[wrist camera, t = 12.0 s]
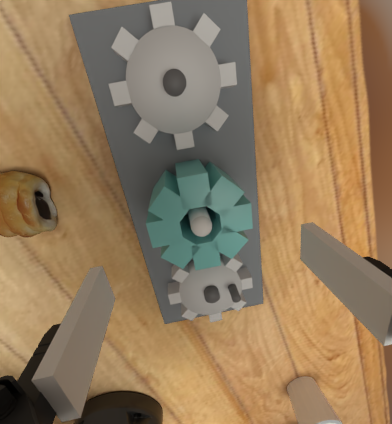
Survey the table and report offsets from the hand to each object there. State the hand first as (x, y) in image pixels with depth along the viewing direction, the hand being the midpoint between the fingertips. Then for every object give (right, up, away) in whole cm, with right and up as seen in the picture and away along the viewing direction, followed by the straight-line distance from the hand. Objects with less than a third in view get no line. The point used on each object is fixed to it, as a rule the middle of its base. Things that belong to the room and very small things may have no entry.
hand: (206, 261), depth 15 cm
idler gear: (-1, +4, +10) cm, 11 cm away
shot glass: (+19, -30, +29) cm, 46 cm away
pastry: (-20, +4, +10) cm, 23 cm away
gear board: (-1, +5, +11) cm, 12 cm away
